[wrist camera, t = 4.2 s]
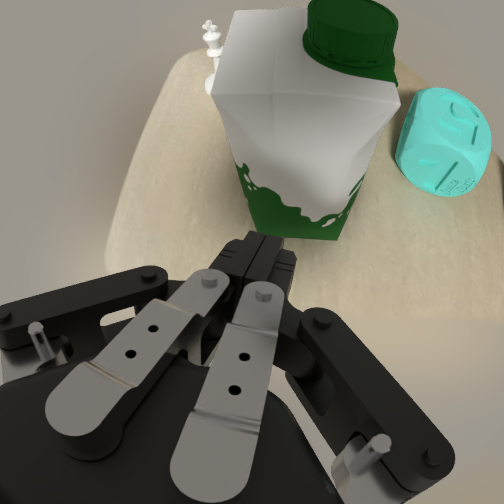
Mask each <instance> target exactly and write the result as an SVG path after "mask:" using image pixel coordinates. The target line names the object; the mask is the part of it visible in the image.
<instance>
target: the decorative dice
mask: <svg viewBox="0 0 504 504" xmlns="http://www.w3.org/2000/svg"><path fill="white" fill-rule="evenodd" d="M491 144H492V136H491V131H490V128H489V125H488V123H487V121H486V119H485V118H484V116H483V114H482V113H481V112H480V111H479V109H478V108H477V107H476V106H475V105H474V104H473V103H472V102H471V101H469V100H468V99H467V98H465V97H464V96H462V95H460V94H459V93H457V92H455V91H452V90H449V89H445V88H427V89H423V90H420V91H417V92H416V93H415V95H414V97H413V99H412V102H411V104H410V107H409V109H408V112H407V115H406V118H405V121H404V124H403V127H402V131H401V134H400V137H399V141H398V145H397V149H396V154H395V161H396V163H397V165H398V167H399V168H400V170H401V171H402V173H403V174H404V175H405V177H406V178H407V179H408V180H409V181H410V182H411V183H412V184H414V185H415V186H416V187H418V188H420V189H421V190H423V191H426V192H428V193H431V194H434V195H438V196H445V197H453V196H459V195H463V194H465V193H467V192H469V191H471V190H472V189H473V188H474V187H475V186H476V184H477V183H478V182H479V180H480V178H481V177H482V175H483V173H484V170H485V168H486V166H487V163H488V160H489V156H490V151H491Z"/></svg>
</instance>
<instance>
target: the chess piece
mask: <svg viewBox="0 0 504 504" xmlns="http://www.w3.org/2000/svg"><path fill="white" fill-rule="evenodd" d="M202 27H203V29H207V30H208V32H207V33H205V34H204V36H203V39H204V41H205V42H206V43H207V44H208V46H209V47H210V48H209V49H208V50H207V55H208V56H210V57H213V60H214V68H215V72H214V73H212V74H211V75H210V76H209V77H208V78H207V79H206V81H205V90H206V92H207V93H208V94H209V95H210V93H211V89H212V86H213V82H214V78H215V75H216V71H217V68H218V64H219V61H220V57H221V54H222V51H223V46H221V45H220V40H221V33H220V32H219V31H216V30H217V29H218V28H217V26H215V25H212V21H210V20H208V21H206V24H204V25H203V26H202Z"/></svg>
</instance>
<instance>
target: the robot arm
mask: <svg viewBox="0 0 504 504" xmlns="http://www.w3.org/2000/svg"><path fill="white" fill-rule="evenodd" d="M283 245H284V238H283V237H278V236H273V235H269V234H264V233H259V232H254V231H249V232H248V234H247V235H246V237H245V238H244V240H239V239H234V240H232V241H230V242H228V243H227V244H226V245H225V247H224V248H223V250H222V251H221V252H220V253H219V255H218V256H217V257H216V259H215V260H214V261H213V263H212V264H211V265H210V267H209V268H208V269H202V270H198V271H196V272H194V273H193V274H192V275H191V276H190V277H189V278H188V279H187V280H186V281H177V280H168V273H167V272H166V270H164V269H163V268H161V267H158V266H143V267H139V268H135V269H131V270H127V271H124V272H120V273H116V274H112V275H109V276H105V277H101V278H98V279H94V280H90V281H87V282H83V283H79V284H76V285H72V286H68V287H65V288H61V289H58V290H54V291H50V292H46V293H43V294H39V295H36V296H32V297H29V298H25V299H21V300H18V301H14V302H11V303H7V304H4V305H1V306H0V350H1V361H2V374H3V383H4V384H3V385H1V386H0V504H404V503H405V502H407V501H408V500H410V499H412V498H414V497H415V496H417V495H418V494H420V493H422V492H423V491H425V490H426V489H428V488H429V487H431V486H433V485H434V484H435V483H437V482H438V481H440V480H441V479H442V478H444V477H446V476H447V475H448V474H449V473H450V472H451V470H452V469H453V467H454V463H455V453H454V450H453V448H452V446H451V444H450V443H449V442H448V440H447V439H446V438H445V437H444V436H443V435H442V433H441V432H440V431H439V430H438V429H437V427H436V426H435V425H434V424H433V423H432V422H431V420H430V419H429V418H428V417H427V416H426V415H425V413H424V412H423V411H422V410H421V409H420V408H419V406H418V405H417V404H416V403H415V402H414V401H413V399H412V398H411V397H410V396H409V395H408V394H407V393H406V391H405V390H404V389H403V388H402V387H401V386H400V385H399V383H398V382H397V381H396V380H395V379H394V378H393V376H392V375H391V374H390V373H389V372H388V371H387V370H386V369H385V367H384V366H383V365H382V364H381V363H380V362H379V361H378V359H376V357H375V356H374V355H373V354H372V353H371V352H370V350H369V349H368V348H367V347H366V346H365V345H364V344H363V343H362V341H361V340H360V339H359V338H358V337H357V336H356V335H355V334H354V333H353V331H352V330H351V329H350V328H349V327H348V326H347V325H346V324H345V322H344V321H343V320H342V319H341V318H340V317H339V316H338V315H337V314H336V313H334V312H333V311H331V310H328V309H325V308H318V307H316V308H310V309H307V310H305V311H304V312H302V311H300V310H298V309H296V308H295V307H293V306H292V305H291V304H290V303H289V301H288V295H289V292H290V289H291V284H292V280H293V275H294V270H295V265H296V260H297V258H296V256H295V253H294V252H293V251H289V250H284V249H283ZM132 306H134V309H135V315H136V316H135V317H133V318H130V319H126V320H123V321H120V322H117V323H113V324H110V325H107V326H100V320H101V318H102V317H103V316H104V315H106V314H108V313H112V312H116V311H119V310H122V309H126V308H129V307H132ZM213 358H214V359H213ZM212 360H213V361H212ZM211 362H212V364H211V366H210V367H208V366H209V365H210V363H211ZM272 364H273V365H275V366H277V367H279V368H280V369H282V370H284V371H286V372H285V377H286V379H287V381H288V383H289V384H290V386H291V388H292V389H293V391H294V392H295V394H296V396H297V397H298V399H299V400H300V402H301V403H302V405H303V406H304V408H305V409H306V411H307V412H308V414H309V416H310V417H311V419H312V420H313V422H314V423H315V425H316V427H317V428H318V430H319V431H320V433H321V434H322V436H323V437H324V439H325V440H326V442H327V443H328V445H329V446H330V448H331V449H332V451H333V452H334V454H335V455H336V458H335V460H334V461H333V463H332V466H331V474H332V477H333V480H334V482H335V485H336V488H335V486H334V485H333V483H332V481H331V480H330V478H329V476H328V475H327V473H326V471H325V470H324V468H323V466H322V465H321V463H320V461H319V459H318V458H317V456H316V454H315V452H314V451H313V449H312V447H311V446H310V444H309V442H308V440H307V439H306V437H305V435H304V433H303V431H302V430H301V428H300V426H299V425H298V423H297V421H296V419H295V417H294V415H293V414H292V412H291V411H290V409H289V408H288V407H287V405H286V404H285V403H284V402H283V401H282V400H281V399H280V398H278V397H277V396H276V395H275V394H273V393H272V392H270V391H269V390H268V385H269V380H270V375H271V370H272Z"/></svg>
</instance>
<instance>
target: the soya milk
mask: <svg viewBox="0 0 504 504" xmlns="http://www.w3.org/2000/svg"><path fill="white" fill-rule="evenodd" d="M397 30H398V20H397V18H396V16H395V15H394V14H393V13H392V12H391V11H390V10H389V9H388V8H386V7H385V6H383V5H381V4H379V3H377V2H375V1H372V0H312V1H311V2H310V3H309V5H308V8H307V9H305V8H300V7H280V9H265V10H264V9H262V10H240V11H235V13H234V16H233V19H232V22H231V25H230V28H229V32H228V35H227V38H226V41H225V44H224V47H223V51H222V54H221V57H220V61H219V64H218V68H217V71H216V75H215V78H214V82H213V86H212V89H211V93H210V95H211V96H212V98H213V100H214V102H215V104H216V107H217V109H218V111H219V113H220V116H221V118H222V120H223V124H224V127H225V130H226V134H227V137H228V140H229V144H230V147H231V151H232V154H233V157H234V161H235V164H236V168H237V171H238V174H239V178H240V181H241V185H242V188H243V191H244V195H245V198H246V201H247V204H248V207H249V209H250V212H251V215H252V218H253V221H254V224H255V226H256V229H257V232H259V233H264V234H269V235H273V236H278V237H291V238H306V239H321V240H335V241H337V239H338V237H339V235H340V232H341V230H342V228H343V226H344V223H345V221H346V219H347V217H348V215H349V212H350V210H351V208H352V205H353V203H354V201H355V198H356V196H357V193H358V191H359V188H360V186H361V183H362V181H363V178H364V176H365V173H366V171H367V168H368V166H369V163H370V161H371V158H372V155H373V153H374V150H375V147H376V145H377V142H378V140H379V137H380V134H381V132H382V131H383V130H384V128H385V127H386V125H387V124H388V123H389V121H390V120H391V119H392V117H393V116H394V115H395V113H396V112H397V110H398V109H399V108H400V106H401V103H400V99H399V95H398V92H397V89H396V88H397V86H398V82H397V79H396V76H395V73H394V67H395V57H394V53H393V48H394V43H395V39H396V35H397Z"/></svg>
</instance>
